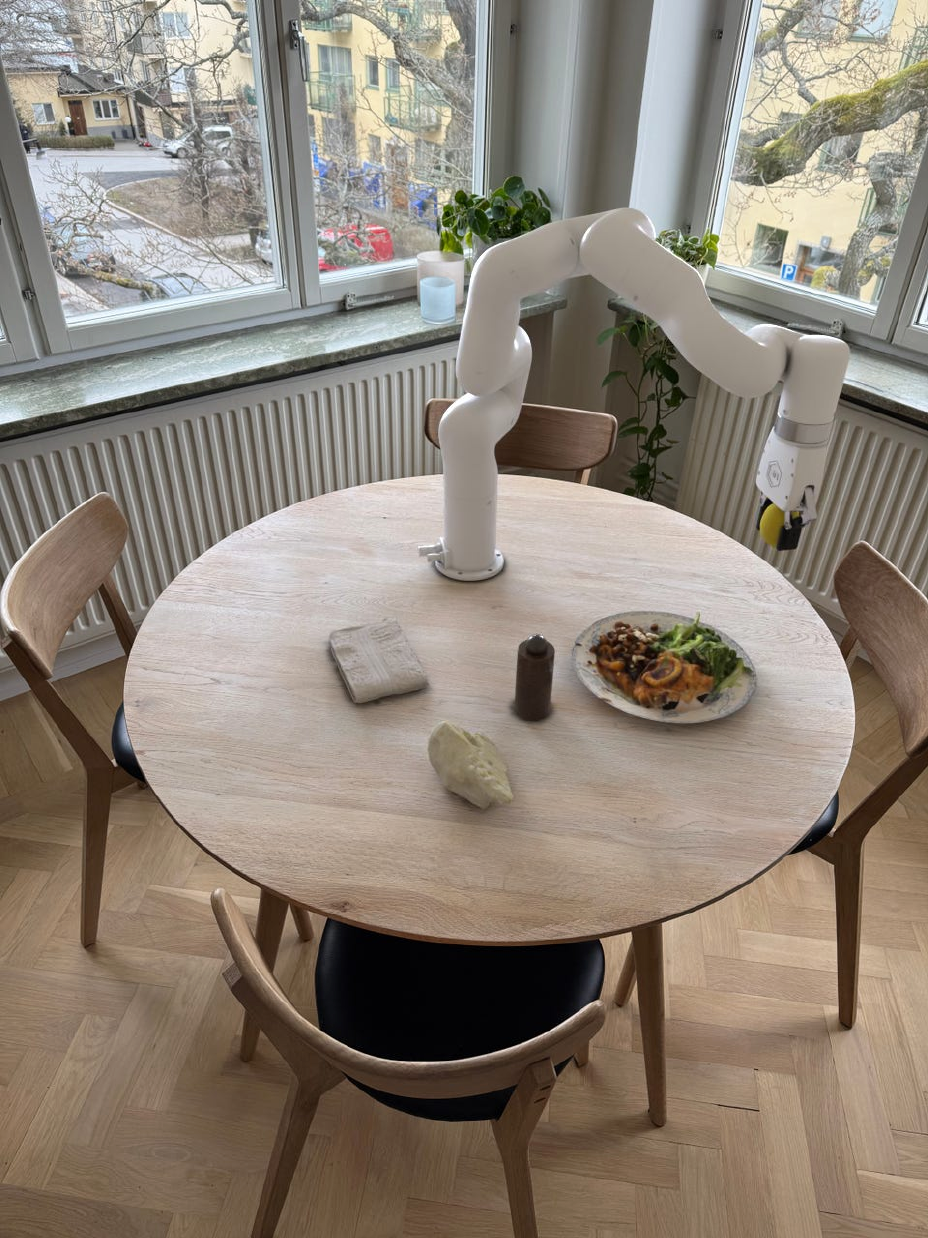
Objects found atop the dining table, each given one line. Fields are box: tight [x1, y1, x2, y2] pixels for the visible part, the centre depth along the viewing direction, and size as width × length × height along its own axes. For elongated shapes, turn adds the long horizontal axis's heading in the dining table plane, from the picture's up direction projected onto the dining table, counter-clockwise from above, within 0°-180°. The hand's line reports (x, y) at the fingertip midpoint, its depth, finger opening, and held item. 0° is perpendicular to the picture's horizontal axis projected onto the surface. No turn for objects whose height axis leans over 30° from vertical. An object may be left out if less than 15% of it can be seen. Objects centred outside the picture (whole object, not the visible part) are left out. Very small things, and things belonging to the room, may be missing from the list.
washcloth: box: [328, 618, 430, 704], centre depth 140 cm, size 12×18×3 cm, turn 22°
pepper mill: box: [514, 633, 556, 722], centre depth 129 cm, size 5×5×13 cm
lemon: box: [759, 503, 799, 549], centre depth 136 cm, size 6×6×8 cm
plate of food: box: [571, 610, 758, 724], centre depth 138 cm, size 28×28×6 cm
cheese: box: [427, 719, 515, 810], centre depth 117 cm, size 15×7×15 cm
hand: (776, 537), depth 137 cm, fingers closed on lemon, 5 cm apart
